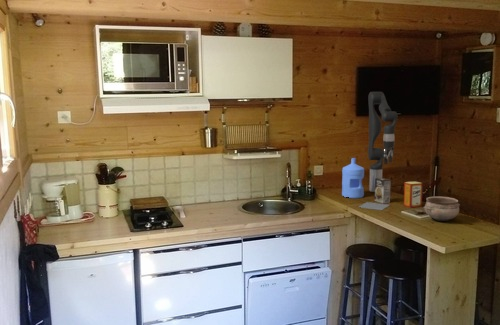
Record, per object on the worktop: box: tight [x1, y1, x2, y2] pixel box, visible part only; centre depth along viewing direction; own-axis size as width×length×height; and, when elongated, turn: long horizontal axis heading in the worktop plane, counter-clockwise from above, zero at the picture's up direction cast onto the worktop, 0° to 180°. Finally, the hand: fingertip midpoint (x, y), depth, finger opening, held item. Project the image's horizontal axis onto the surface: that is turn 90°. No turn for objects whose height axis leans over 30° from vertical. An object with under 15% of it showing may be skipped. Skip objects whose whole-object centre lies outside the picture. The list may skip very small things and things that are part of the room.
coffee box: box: [374, 177, 392, 204], centre depth 323 cm, size 9×6×16 cm
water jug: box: [341, 157, 365, 199], centre depth 340 cm, size 16×16×28 cm
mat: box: [358, 201, 391, 211], centre depth 311 cm, size 16×16×1 cm
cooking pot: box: [423, 196, 461, 222], centre depth 276 cm, size 25×19×12 cm
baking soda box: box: [403, 181, 424, 209], centre depth 310 cm, size 10×6×16 cm
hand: (388, 163), depth 329 cm, fingers open, 8 cm apart
